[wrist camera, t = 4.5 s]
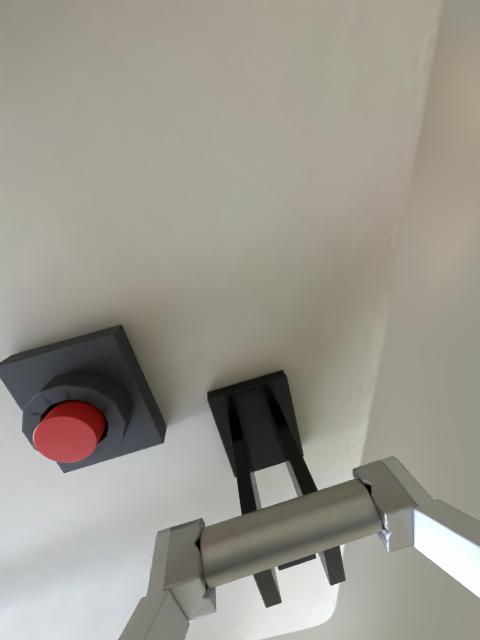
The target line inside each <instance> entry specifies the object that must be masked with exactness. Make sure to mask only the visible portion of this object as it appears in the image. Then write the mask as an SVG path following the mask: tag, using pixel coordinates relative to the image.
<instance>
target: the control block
mask: <svg viewBox="0 0 480 640" xmlns="http://www.w3.org/2000/svg"><path fill="white" fill-rule="evenodd" d="M0 379H1V381H2V382H3V384H4V385H5V387H6V388H7V390H8V391H9V393H10V394H11V395H12V397H13V398H14V400H15V401H16V403H17V404H18V406H19V407H20V409H21V410H22V412H23V414H22V432H23V433H24V435H25V436H26V438H27V439H28V441H29V442H30V443H31V445H32V446H33V448H34V449H35V450H37V448H36V447H35V445H34V441H33V434H34V431H35V429H36V427H37V426H38V425H39V424H40V422H41V421H42V420H43V419H44V418H45V417H46V416H47V414H48V413H49V412H50V411H51V410H52V409H53V408H54V407H55V406H57V405H58V404H60V403H63V402H66V401H83V402H87V403H89V404H91V405H93V406H95V407H96V408H98V409H99V410H100V411H101V413H102V414H103V416H104V418H105V423H106V425H105V430H104V432H103V434H102V436H101V438H100V440H99V442H98V444H97V446H96V448H95V450H94V451H93V452H92V454H91V455H89V456H88V457H87V458H85V459H83V460H80V461H77V462H72V463H62V462H57V461H56V462H57V464H58V465H59V467H60V468H61V470H62V471H63V473H66V472H70V471H73V470H76V469H80V468H83V467H86V466H90V465H93V464H96V463H99V462H103V461H106V460H109V459H113V458H116V457H119V456H122V455H126V454H129V453H132V452H136V451H139V450H142V449H146V448H149V447H152V446H155V445H159V444H162V443H164V438H165V433H166V428H167V427H166V425H165V423H164V420H163V418H162V416H161V414H160V411H159V409H158V407H157V405H156V402H155V400H154V398H153V395H152V393H151V391H150V389H149V386H148V384H147V382H146V380H145V377H144V375H143V373H142V371H141V368H140V366H139V364H138V361H137V359H136V357H135V355H134V352H133V350H132V348H131V346H130V343H129V341H128V339H127V337H126V334H125V332H124V330H123V328H122V325H119V326H115V327H112V328H108V329H105V330H101V331H97V332H94V333H90V334H87V335H83V336H79V337H76V338H72V339H69V340H65V341H61V342H58V343H54V344H51V345H47V346H43V347H40V348H36V349H33V350H29V351H25V352H22V353H18V354H15V355H11V356H10V357H8V358H7V359H5V360H3V361H2V362H0ZM37 451H38V450H37Z"/></svg>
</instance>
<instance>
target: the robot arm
mask: <svg viewBox="0 0 480 640" xmlns="http://www.w3.org/2000/svg"><path fill="white" fill-rule="evenodd" d="M353 477H354V478H355V479H359V480H360V481H361V482H362V483H363V484H364V485H365V487H366V488H367V489H368V491H369V493H370V494H371V496H372V499H373V501H374V503H375V506H376V508H377V510H378V513H379V515H380V519H381V522H382V526H383V528H382V531H381V532H378V533H377V534H378V535H379V537H380V539H381V541H382V542H383V544H384V546H385V547H386V549H387V551H388V552H393V551H396V550H399V549H402V548H406V547H409V546H412V545H414V547H415V548H417V549H418V550H419V551H420V552H422V553H423V554H424V555H426V556H427V557H428V558H429V559H431V560H432V561H434V562H435V563H436V564H437V565H439V566H440V567H441V568H442V569H444V570H445V571H446V572H447V573H449V574H450V575H451V576H453V577H454V578H455V579H456V580H458V581H459V582H460V583H462V584H463V585H464V586H466V587H467V588H468V589H469V590H471V591H472V592H473V593H474V594H476V595H477V596H479V597H480V521H479V520H477V519H475V518H473V517H471V516H469V515H467V514H465V513H463V512H462V511H460V510H458V509H456V508H454V507H452V506H450V505H448V504H446V503H444V502H443V501H441V500H439V499H437V500H433V499H432V498H431V497H430V495H429V494H428V493H427V492H426V491H425V490H424V489H423V487H422V486H421V485H420V484H419V483H418V482H417V481H416V479H415V478H414V477H413V476H412V475H411V474H410V473H409V472H408V470H407V469H406V468H405V467H404V466H403V465H402V464H401V462H400V461H399V460H398V459H397V458H395V457H393V456H391V457H388V458H385V459H382V460H378V461H375V462H372V463H369V464H366V465H363V466H360V467H357V468H354V469H353ZM204 527H205V523H204V521H203V519H202V518H200V519H197V520H194V521H190V522H187V523H184V524H181V525H177V526H174V527H170V528H167V529H164V530H161V531H158V533H157V535H156V538H155V544H154V550H153V556H152V562H151V568H150V575H149V581H148V587H147V593H146V597H143V598H141V600H140V601H139V603H138V605H137V607H136V609H135V610H134V612H133V614H132V616H131V618H130V619H129V621H128V623H127V625H126V627H125V628H124V630H123V632H122V634H121V636H120V637H119V639H118V640H184V639H185V636H186V633H187V631H188V628H189V625H190V624H189V622H190V621H193V620H195V619H198V618H200V617H203V616H206V615H208V614H211V613H214V612H216V593H215V587H214V588H209V587H208V586H207V584H206V582H205V577H204V572H203V567H202V559H201V553H200V537H201V532H202V529H203V528H204Z"/></svg>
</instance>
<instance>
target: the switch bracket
mask: <svg viewBox="0 0 480 640" xmlns="http://www.w3.org/2000/svg"><path fill="white" fill-rule="evenodd" d="M207 400H208V403H209V406H210V409H211V412H212V414H213V417H214V420H215V423H216V426H217V429H218V431H219V434H220V437H221V440H222V443H223V446H224V448H225V451H226V454H227V457H228V460H229V462H230V465H231V468H232V471H233V474H234V477H237V484H238V491H239V498H240V506H241V513H242V515H244V514H247V513H250V512H254V511H257V510H260V509H262V507H261V503H260V498H259V493H258V489H257V484H256V479H255V475H254V472H255V471H258V470H261V469H264V468H267V467H270V466H274V465H277V464H280V463H283V462H286V465H287V468H288V471H289V473H290V476H291V479H292V482H293V485H294V487H295V490H296V493H297V496H298V497H300V496H303V495H306V494H309V493H313V492H316V491H318V490H317V487H316V485H315V483H314V481H313V479H312V476H311V474H310V472H309V470H308V467H307V465H306V463H305V461H304V459H303V456H304V455H303V450H302V446H301V441H300V436H299V432H298V427H297V422H296V418H295V413H294V408H293V404H292V399H291V394H290V390H289V385H288V380H287V376H286V375H285V373H284V371H283V370H282V371H278V372H275V373H272V374H268V375H265V376H261V377H258V378H255V379H251V380H248V381H244V382H241V383H238V384H234V385H231V386H228V387H224V388H221V389H217V390H214V391H211V392H208V393H207ZM318 554H319V556H320V559H321V562H322V565H323V567H324V570H325V573H326V576H327V578H328V581H329V584H330V585H334V584H337V583H340V582H343V581H345V580H346V579H345V574H344V568H343V562H342V557H341V551H340V545H339V546H336V547H333V548H330V549H327V550H324V551H321V552H318ZM253 577H254V579H255V582H256V584H257V587H258V590H259V592H260V595H261V597H262V600H263V602H264V605H265V607H266V608H268V607H270V606H273V605H276V604H279V603H281V602H282V601H281V596H280V592H279V587H278V582H277V577H276V573H275V568H274V567H273V568H270V569H267V570H265V571H262V572H259V573H256V574H253Z"/></svg>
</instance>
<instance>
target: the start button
mask: <svg viewBox="0 0 480 640" xmlns="http://www.w3.org/2000/svg"><path fill="white" fill-rule="evenodd" d="M105 425H106V423H105V418H104V416H103V414H102V413H101V411H100V410H99V409H98V408H96V407H95V406H93V405H91V404H89V403H87V402H83V401H66V402H63V403H60V404H58V405H57V406H55V407H54V408H53V409H52V410H51V411H50V412H49V413H48V414H47V416H46V417H45V418H44V419H43V420H42V421H41V422H40V424H39V425H38V426H37V427H36V429H35V431H34V434H33V441H34V445H35V447H36V448H37V450H38V451H39V452H40V453H41V454H42V455H43V456H45V457H47V458H48V459H51V460H53V461H57V462H62V463H72V462H77V461H80V460H83V459H85V458H87V457H88V456H89V455H91V454H92V452H93V451H94V450H95V448H96V446H97V444H98V442H99V440H100V438H101V436H102V434H103V432H104V430H105Z"/></svg>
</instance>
